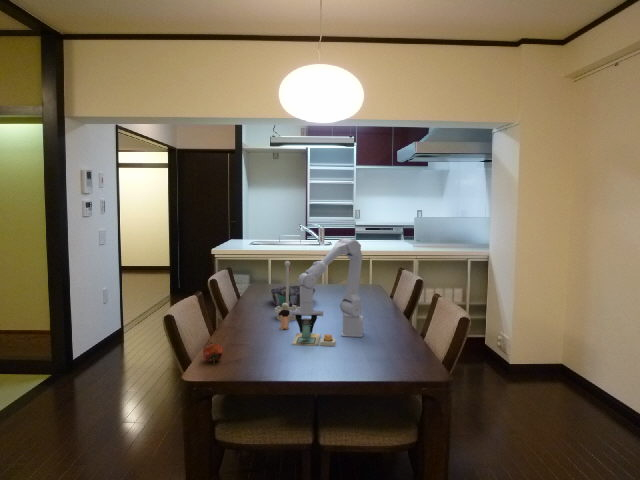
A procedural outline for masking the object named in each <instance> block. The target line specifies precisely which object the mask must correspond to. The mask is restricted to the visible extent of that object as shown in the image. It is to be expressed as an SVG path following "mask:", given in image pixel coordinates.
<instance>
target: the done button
mask: <svg viewBox="0 0 640 480" xmlns="http://www.w3.org/2000/svg"><path fill="white" fill-rule="evenodd" d="M332 336H333V335H332V334H330V333H329V334H327V333H326V334H324V335H323V338H324V341H330V342H331V341H332V338H333V337H332Z"/></svg>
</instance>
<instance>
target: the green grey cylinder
mask: <svg viewBox="0 0 640 480" xmlns="http://www.w3.org/2000/svg"><path fill="white" fill-rule="evenodd" d="M311 334H312V333H311V318H309V317H308V318H307V317H306V318H305V317H304V318H302V338H303V339H310V338H311Z"/></svg>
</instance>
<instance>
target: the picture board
mask: <svg viewBox="0 0 640 480" xmlns="http://www.w3.org/2000/svg"><path fill="white" fill-rule="evenodd" d="M321 336H322V335H321V333H311V338H310V339H303V338H302V333H300V332H299V333H298V332H297V333H296V334H295V336H294V338H293V341H292V343H291V344H292V346H317V347H319V345H320V344H319V343H320V341H321Z"/></svg>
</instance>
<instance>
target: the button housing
mask: <svg viewBox="0 0 640 480" xmlns="http://www.w3.org/2000/svg"><path fill="white" fill-rule="evenodd" d="M319 343H320V344H319V346H320V347H335V346H336V337H332V341H331V342H330V341H324V336H323V337H321V336H320V340H319Z"/></svg>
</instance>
